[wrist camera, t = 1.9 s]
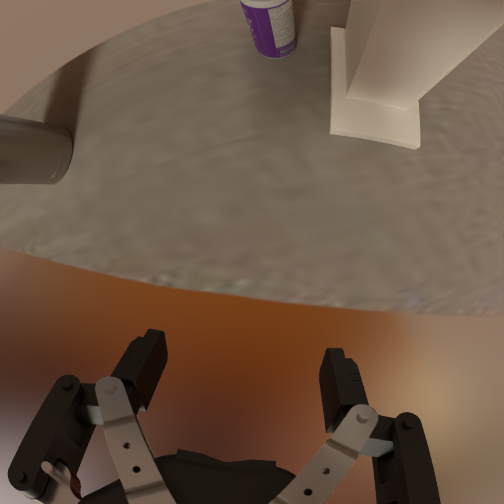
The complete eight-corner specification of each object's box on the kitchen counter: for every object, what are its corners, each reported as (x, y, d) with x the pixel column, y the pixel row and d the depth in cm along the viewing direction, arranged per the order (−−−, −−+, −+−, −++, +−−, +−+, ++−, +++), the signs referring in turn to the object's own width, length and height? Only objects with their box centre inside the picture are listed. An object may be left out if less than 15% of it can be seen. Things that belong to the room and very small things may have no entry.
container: (248, 45, 26) (213, -38, 11) (277, 26, 25) (258, -60, 10) (274, 66, 26) (251, -21, 11) (304, 46, 25) (300, -43, 10)
